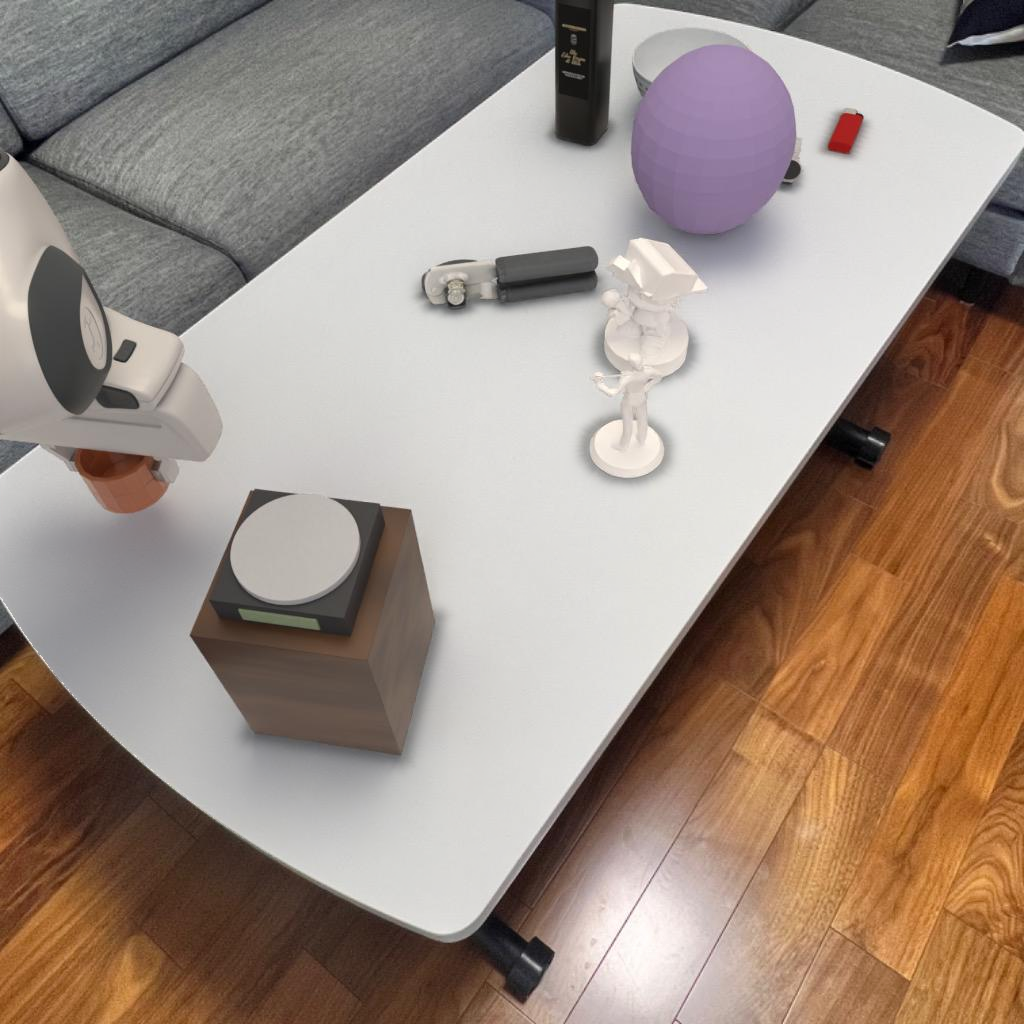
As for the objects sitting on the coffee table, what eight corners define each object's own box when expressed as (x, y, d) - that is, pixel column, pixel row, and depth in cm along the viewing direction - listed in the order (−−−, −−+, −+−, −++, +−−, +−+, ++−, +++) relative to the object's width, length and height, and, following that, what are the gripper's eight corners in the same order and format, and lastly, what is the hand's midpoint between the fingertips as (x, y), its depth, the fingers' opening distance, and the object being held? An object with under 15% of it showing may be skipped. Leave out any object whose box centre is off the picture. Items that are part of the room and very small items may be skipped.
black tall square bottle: (592, 148, 118) (601, -121, 94) (552, 138, 120) (550, -130, 95) (611, 125, 121) (624, -143, 97) (571, 115, 123) (574, -150, 98)
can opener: (424, 317, 101) (418, 280, 97) (422, 278, 105) (416, 241, 101) (600, 300, 101) (602, 263, 97) (591, 262, 105) (593, 225, 101)
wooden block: (401, 755, 72) (367, 660, 59) (253, 732, 74) (189, 635, 61) (435, 620, 79) (411, 509, 66) (299, 602, 80) (250, 489, 67)
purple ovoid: (681, 162, 116) (701, -5, 99) (803, 215, 109) (846, 44, 92) (595, 231, 108) (602, 63, 92) (721, 293, 101) (751, 122, 85)
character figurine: (589, 336, 98) (592, 242, 88) (666, 306, 100) (678, 212, 91) (631, 390, 93) (639, 297, 84) (711, 357, 96) (729, 263, 86)
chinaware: (621, 88, 126) (624, 31, 120) (732, 81, 126) (741, 23, 120) (636, 153, 117) (641, 95, 111) (755, 145, 117) (767, 86, 111)
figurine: (642, 411, 92) (652, 319, 82) (677, 462, 88) (692, 372, 78) (576, 434, 90) (578, 343, 81) (609, 487, 86) (615, 399, 77)
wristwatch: (773, 188, 112) (781, 151, 108) (778, 164, 114) (786, 127, 110) (798, 191, 111) (807, 154, 107) (802, 167, 114) (811, 130, 110)
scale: (350, 638, 60) (341, 615, 58) (218, 620, 61) (204, 596, 59) (385, 523, 65) (378, 498, 63) (263, 508, 66) (252, 482, 64)
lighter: (828, 140, 115) (843, 106, 119) (826, 149, 116) (841, 115, 120) (852, 145, 114) (866, 110, 118) (849, 154, 115) (863, 120, 119)
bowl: (153, 518, 80) (134, 485, 76) (83, 509, 81) (61, 477, 77) (181, 460, 84) (165, 426, 80) (114, 452, 85) (94, 419, 81)
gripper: (-91, 371, 69) (-2, 486, 80) (168, 398, 67) (223, 513, 78) (-47, 314, 73) (33, 431, 84) (200, 337, 70) (248, 456, 81)
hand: (126, 471), depth 81 cm, fingers closed on bowl, 6 cm apart
